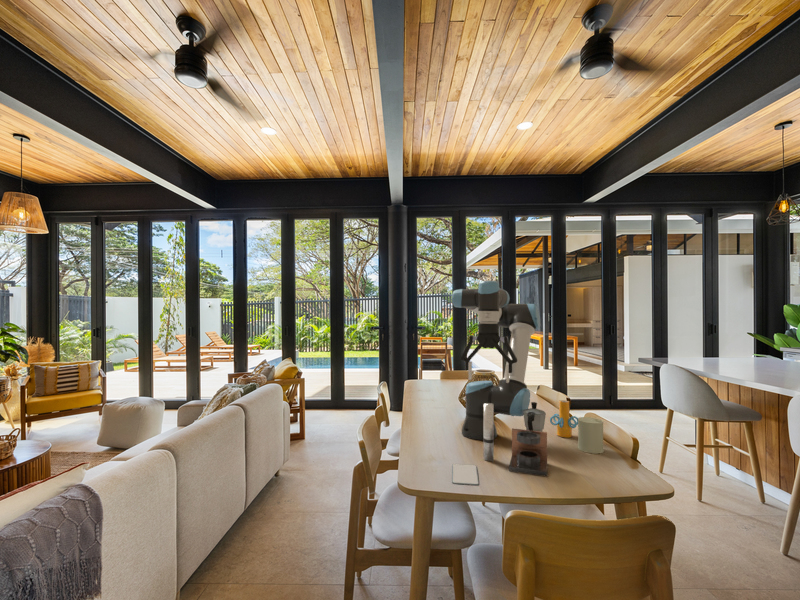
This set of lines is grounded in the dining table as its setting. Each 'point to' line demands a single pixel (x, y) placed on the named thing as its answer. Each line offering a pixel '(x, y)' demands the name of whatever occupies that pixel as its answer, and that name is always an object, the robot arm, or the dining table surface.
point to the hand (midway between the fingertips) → (488, 380)
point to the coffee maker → (534, 418)
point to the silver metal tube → (488, 432)
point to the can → (590, 435)
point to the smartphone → (464, 474)
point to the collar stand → (529, 452)
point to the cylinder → (564, 420)
